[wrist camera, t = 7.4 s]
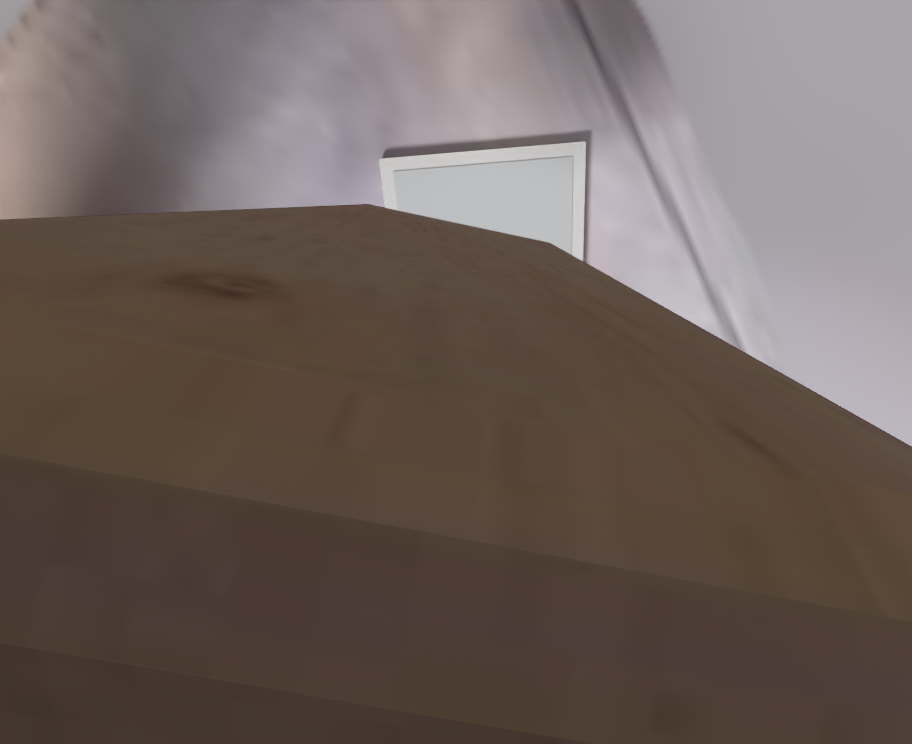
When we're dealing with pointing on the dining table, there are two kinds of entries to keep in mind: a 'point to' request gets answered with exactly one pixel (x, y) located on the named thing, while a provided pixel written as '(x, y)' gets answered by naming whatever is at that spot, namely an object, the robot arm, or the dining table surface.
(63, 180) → the dining table surface
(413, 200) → the shallow square tray
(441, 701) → the wooden block
